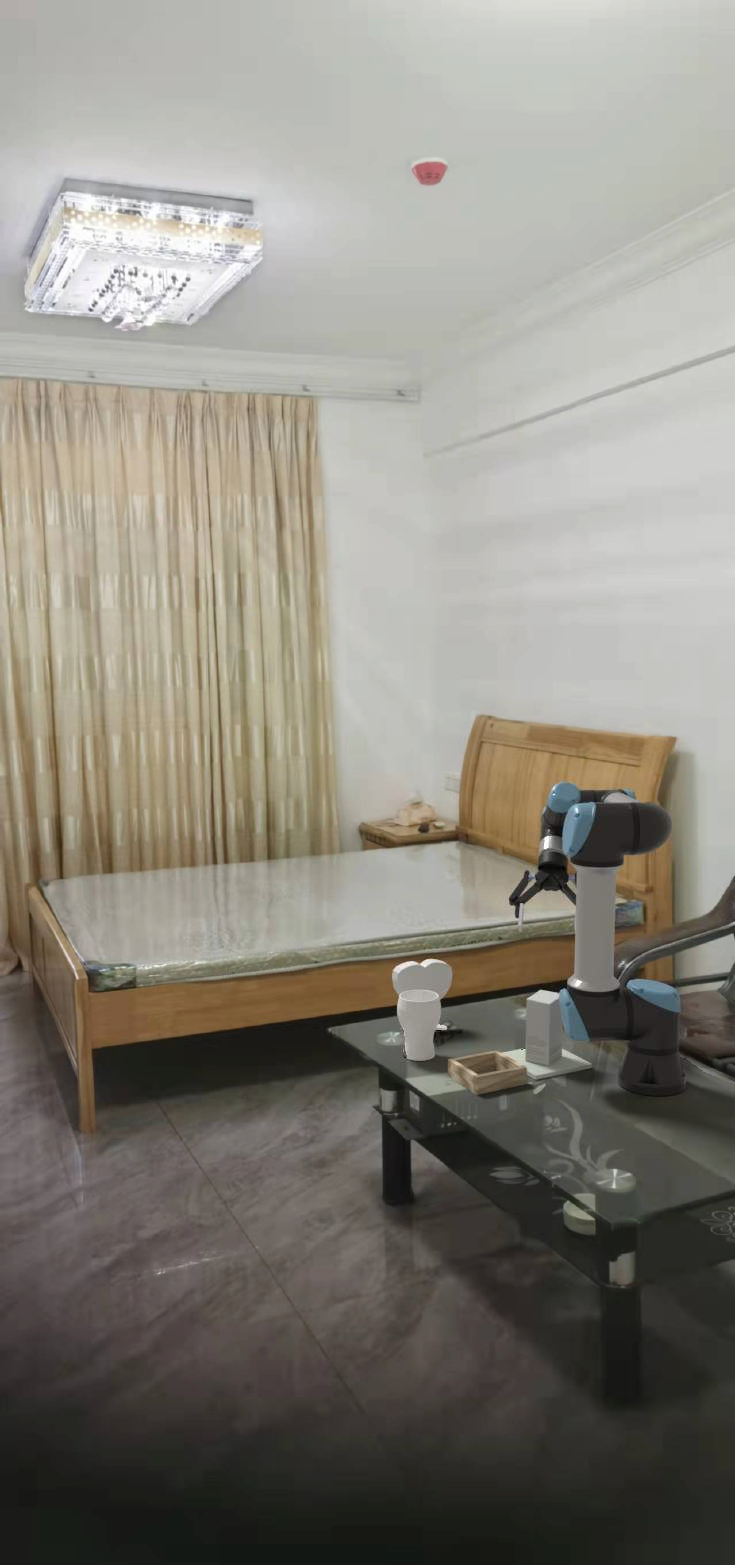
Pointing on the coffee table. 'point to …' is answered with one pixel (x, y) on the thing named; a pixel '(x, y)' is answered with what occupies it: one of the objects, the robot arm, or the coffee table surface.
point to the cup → (419, 1022)
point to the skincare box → (543, 1028)
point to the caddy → (504, 1078)
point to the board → (558, 1067)
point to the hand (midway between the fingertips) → (547, 930)
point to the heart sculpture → (423, 978)
